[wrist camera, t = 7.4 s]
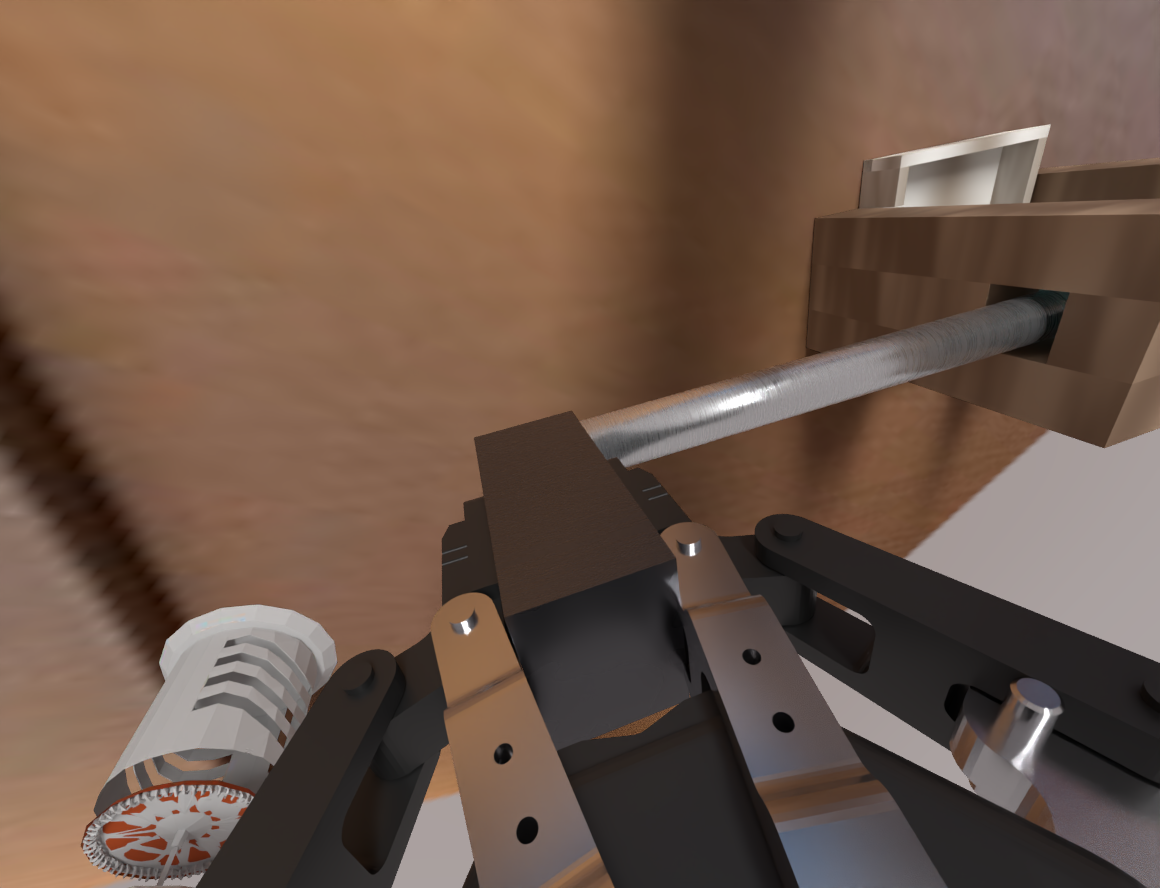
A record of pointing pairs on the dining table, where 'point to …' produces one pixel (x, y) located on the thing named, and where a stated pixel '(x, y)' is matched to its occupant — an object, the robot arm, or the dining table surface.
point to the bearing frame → (1007, 275)
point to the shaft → (625, 534)
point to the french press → (208, 739)
